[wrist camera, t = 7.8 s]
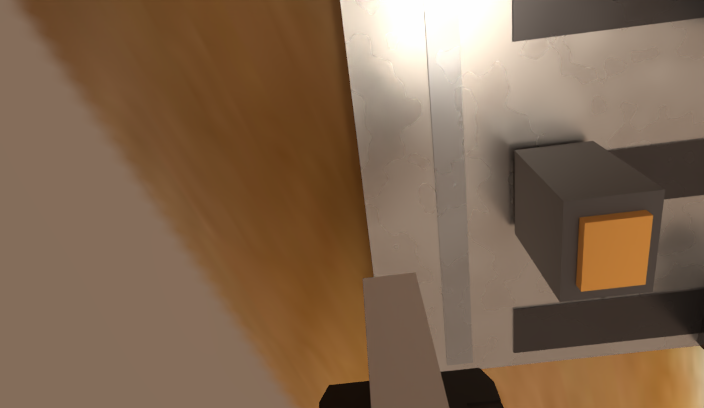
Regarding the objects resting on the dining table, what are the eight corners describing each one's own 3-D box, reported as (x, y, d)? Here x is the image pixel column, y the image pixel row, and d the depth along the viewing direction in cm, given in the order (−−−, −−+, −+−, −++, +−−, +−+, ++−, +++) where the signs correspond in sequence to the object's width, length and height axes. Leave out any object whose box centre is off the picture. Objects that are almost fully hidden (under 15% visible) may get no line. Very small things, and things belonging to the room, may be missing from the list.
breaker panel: (336, -33, 20) (333, -34, 14) (996, -121, 19) (1320, -165, 13) (383, 351, 27) (395, 468, 21) (867, 298, 27) (1034, 403, 20)
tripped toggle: (514, 150, 21) (568, 206, 16) (593, 140, 21) (672, 194, 16) (514, 233, 22) (564, 309, 17) (588, 224, 22) (659, 299, 17)
